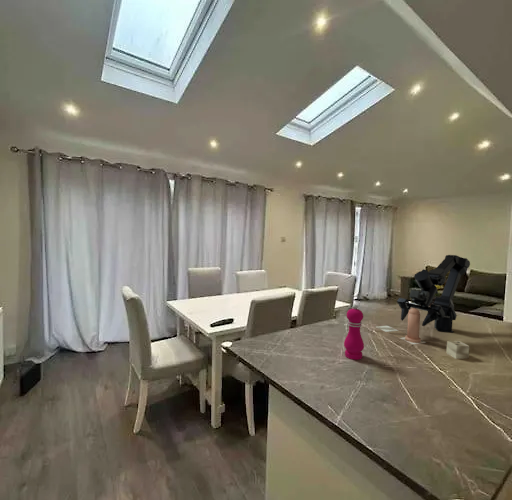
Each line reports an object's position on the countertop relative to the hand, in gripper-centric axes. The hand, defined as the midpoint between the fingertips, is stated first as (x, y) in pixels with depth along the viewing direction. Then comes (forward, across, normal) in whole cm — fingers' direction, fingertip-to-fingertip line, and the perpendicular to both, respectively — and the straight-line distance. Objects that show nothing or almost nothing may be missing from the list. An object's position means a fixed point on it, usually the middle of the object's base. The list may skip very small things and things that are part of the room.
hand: (411, 322), depth 127 cm
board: (+3, -8, +8) cm, 12 cm away
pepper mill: (+30, -3, -18) cm, 35 cm away
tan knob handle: (+5, 0, +7) cm, 8 cm away
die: (+5, +18, +7) cm, 20 cm away
